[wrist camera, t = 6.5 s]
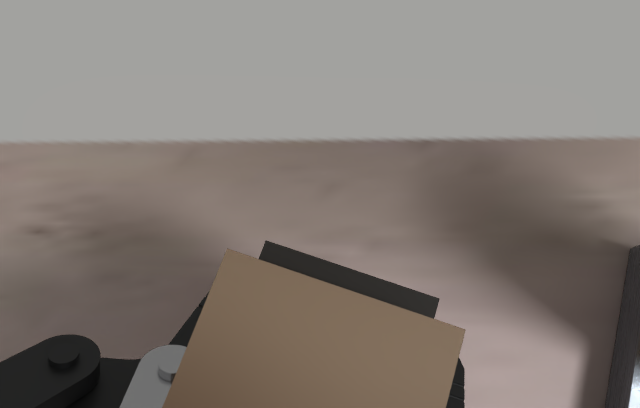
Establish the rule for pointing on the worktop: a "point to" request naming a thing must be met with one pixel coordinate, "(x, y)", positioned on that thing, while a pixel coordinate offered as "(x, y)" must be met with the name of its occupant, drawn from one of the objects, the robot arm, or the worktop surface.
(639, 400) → the grey and tan stand
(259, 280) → the block
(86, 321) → the worktop surface
